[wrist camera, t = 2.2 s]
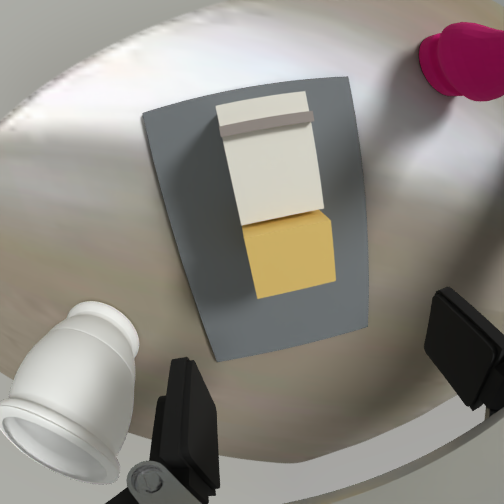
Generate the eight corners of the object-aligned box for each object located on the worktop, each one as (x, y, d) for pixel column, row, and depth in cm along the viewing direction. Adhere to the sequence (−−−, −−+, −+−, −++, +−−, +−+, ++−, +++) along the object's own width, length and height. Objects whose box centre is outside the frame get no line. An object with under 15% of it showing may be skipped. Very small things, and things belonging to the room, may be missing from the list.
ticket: (285, 100, 20) (308, 90, 14) (300, 188, 23) (327, 210, 17) (217, 112, 20) (214, 105, 14) (236, 201, 23) (241, 228, 17)
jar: (76, 270, 24) (-10, 383, 11) (167, 327, 27) (140, 466, 14) (51, 337, 27) (-5, 437, 13) (126, 382, 30) (99, 494, 16)
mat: (346, 77, 20) (348, 76, 20) (366, 324, 29) (367, 326, 29) (143, 113, 20) (142, 113, 19) (217, 359, 29) (217, 362, 29)
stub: (301, 193, 23) (330, 220, 17) (307, 240, 25) (335, 280, 18) (238, 206, 23) (243, 238, 17) (248, 253, 25) (257, 298, 18)
